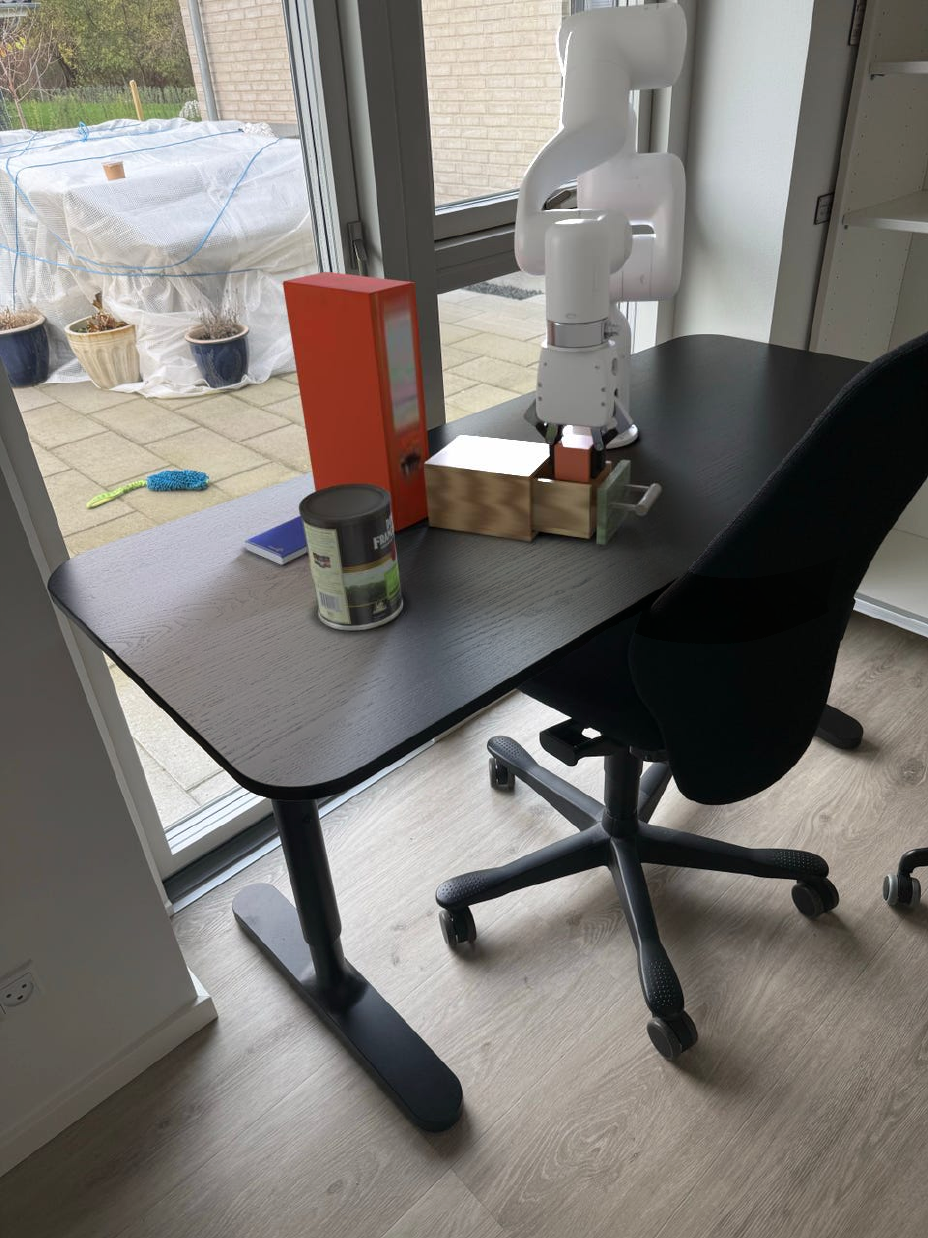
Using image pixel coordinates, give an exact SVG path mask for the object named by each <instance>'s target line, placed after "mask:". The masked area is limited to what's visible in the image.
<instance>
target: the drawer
mask: <svg viewBox="0 0 928 1238" xmlns="http://www.w3.org/2000/svg"><path fill="white" fill-rule="evenodd" d="M612 462H613V461H611V460H606V467H605V470H604V471H602V472H601V473H600V475H599V476H598V477H597V478H596V479H591V480H590V481H589V482H588V483H585V482H577V481H569V480H560V479H555V474H552V465H549V461H548V462H547V463H546V464H545V465H544V466H543V467H542V468H541V469H540V470H539V471H538V472H537V473H536V474H535V475H534V476H533V477H532V478H531V479H530V480H531V508H532V530H534V531H539V532H542V533H548V534H554V535H563V536H568V537H576V538H583V539H590V538H591V537H592V536H593V534H594V533H595V532H596V545H603V546H606V545H607V544H608V542H610V540H611V539H612V537H613V535H615V532H616V531H617V530H618V529H619V527H621V524H622V523H623V521H625V519H626V517H627V516H628V515H629V512H630V511H632V512H635V514H636V515H637V516H639V517H643V516H646V515H647V514H648V512H649V511H650V509H651V508H652V506H653V505H654V503H655V502H656V501H657V499H658V498H659V496H660V495H661V493H662V491H663V488H662V486H661V485H660V484H659V483H652V484H651V485H650V486H645V485H637V484H630V483H631V482H630V480H631V460H628V459H621V460H620V461H619V463H617V465H616V466H615V468H614V469H613V470H612V467H613V466H612V464H613V463H612ZM630 491H633V492H641V493H644V494H643V495H642V496H641V498H640V499H639V501H638V502H637V504H632V503H630Z"/></svg>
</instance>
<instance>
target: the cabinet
mask: <svg viewBox="0 0 928 1238" xmlns="http://www.w3.org/2000/svg"><path fill="white" fill-rule="evenodd" d="M548 461H549V445H547V444H546V443H539V442H529V441H522V440H521V441H520V440H510V439H501V438H491V437H481V436H474V435H473V436H472V435H463V434H460V435H459V436H457V437H456V438H454V439H453V440H452V441H451V442H449V443H448V444H447V445H445V446H444V447H443V448H441V449H440V450H439V451H438V452H436V453H435V454H434V455H432V456H431V457H429V460H427V461H426V462H425V463H424V474H425V484H426V495H427V505H428V524H429V527H432V528H433V527H434V528H440V529H446V530H453V531H458V532H467V533H473V534H479V535H485V536H492V537H498V538H505V539H511V540H518V541H524V542H532V541H533V540H534V539H535V538H536V536H537V535H538V534H539V532H540V531H534V530H532V508H531V480H530V479H531V478H532V477H533V476H534V475H535V474H536V473H537V472H538V471H539V470H540V469H541V468H542V467H543V466H544V465H545V464H546V463H547V462H548Z"/></svg>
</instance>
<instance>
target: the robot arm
mask: <svg viewBox="0 0 928 1238" xmlns="http://www.w3.org/2000/svg"><path fill="white" fill-rule="evenodd" d="M687 40H688V26H687V18H686V15H685V12H684V9H683V8H682V6H681V5H680V4H679V3H678V2H673V1H669V2H654V3H644V4H634V5H633V4H632V5H620V6H607V7H606V6H605V7H599V8H591V9H586V10H582V11H578V12H575V13H572V14H570V15H569V16H566V17H565V19H564V20H563V21H562V22H561V23H560V25H559V26H558V30H557V35H556V50H557V56H558V62H559V66H560V70H561V75H562V77H563V81H562V83H563V84H562V97H561V106H560V107H561V108H560V120H559V131H558V132H557V133H556V134H555V135H554V136H553V137H552V138H551V139H550V140H549V141H547V143H546V144H545V145H544V146H543V148H541V150H540V151H539V152H538V153H537V155H536V156H535V157H534V159H533V161H531V163H530V165H529V166H528V169H527V170H526V172H525V173H524V176H523V178H522V181H521V184H520V188H519V191H518V197H517V208H516V217H515V226H514V256H515V260H516V263H517V266H518V267H519V268H520V270H521V271H522V273H524V274H525V275H528V276H531V277H545V279H544V280H545V333H546V334H545V335H546V338H545V340H544V341H543V342H542V344H541V347H540V352H539V359H538V366H537V374H536V387H535V399H533V401H532V403H531V404H530V405H529V407H528V408H527V409H526V411H525V412H524V414H523V419H524V420H526V421H527V422H528V423H529V424H530V425H531V426H533V427H534V428H535V429H536V431H537V432H538V433H539V434H540V435H541V436H542V438H543V439H544V442H545V444H547V445H549V465H552V474H555V447H554V446H555V445H556V444H557V443H558V442H559V441H560V440H561V439H562V438H563V437H564V436H565V435H566V434H575V435H585V436H592V439H593V449H592V450H591V461H590V477H591V479H596V478H597V477H598V476H599V475H600V473H601V472H602V471H604V470H605V467H606V461H607V450H609V449H615V448H621V447H625V446H627V445H630V444H631V443H634V441H635V440H636V439H637V438H638V435H639V434H638V433H639V432H638V430H639V429H638V427H637V426H636V425H635V424H634V420H633V419H632V417H631V415H630V395H631V394H630V392H631V391H630V390H631V367H632V366H631V364H632V362H631V361H632V328H631V325H630V323H629V321H628V319H627V317H626V316H625V315H624V313H623V312H622V311H621V309H620V308H619V307H618V306H617V304H619V303H620V304H622V303H639V302H640V303H641V302H642V303H643V302H644V303H645V302H646V303H647V302H664V301H668V300H670V299H672V298H673V297H674V296H676V294H677V292H678V290H679V288H680V285H681V279H682V273H683V272H682V270H683V257H684V256H683V253H684V237H685V236H684V235H685V218H686V217H685V216H686V200H687V199H686V196H687V195H686V193H687V192H686V191H687V188H686V187H687V183H686V182H687V180H686V172H685V167H684V163H683V161H682V160H681V158H680V157H678V156H677V155H676V154H674V153H671V152H644V153H638V151H637V145H636V144H637V123H638V120H637V119H638V118H637V113H636V111H635V109H634V107H633V104H632V103H631V102H630V95H631V91H640V90H642V91H643V90H657V89H667V88H671V87H672V86H674V85H675V84H676V82H677V81H678V79H679V78H680V75H681V71H682V70H683V69H682V68H683V65H684V61H685V55H686V49H687ZM574 179H576V204H577V205H576V206H577V208H573V209H550V210H542V209H543V207H544V205H545V203H546V201H547V200H548V199H549V198H550V197H551V195H552V194H553V193H554V192H555V191H556V190H558V189H560V188H561V187H562V186H564V185H565V184H567V183H568V182H570V181H573V180H574ZM643 225H645V226H646V225H647V226H649V227H651V228H652V230H653V232H654V233H651V234H648V233H647V234H634V232H633V227H632V226H643Z"/></svg>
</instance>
